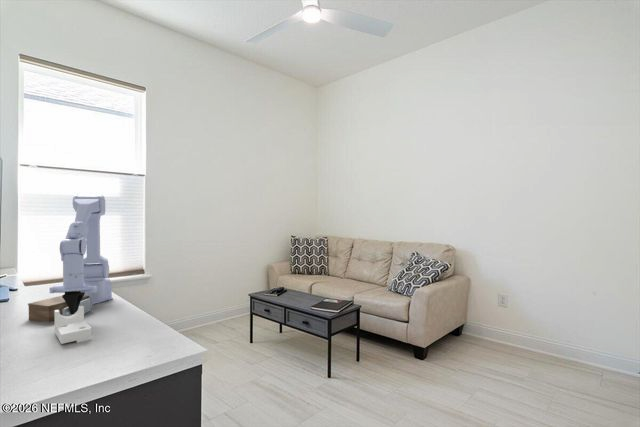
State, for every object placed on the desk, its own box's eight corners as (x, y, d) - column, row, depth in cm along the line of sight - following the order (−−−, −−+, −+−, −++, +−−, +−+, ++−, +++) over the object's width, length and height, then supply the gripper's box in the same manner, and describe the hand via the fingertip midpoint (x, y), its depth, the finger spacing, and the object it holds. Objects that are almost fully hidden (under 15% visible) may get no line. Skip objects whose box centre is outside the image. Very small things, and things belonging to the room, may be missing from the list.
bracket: (54, 334, 105) (54, 310, 104) (82, 329, 110) (82, 305, 109) (61, 347, 95) (61, 320, 95) (91, 340, 100) (91, 314, 100)
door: (89, 309, 128) (89, 297, 128) (93, 309, 128) (93, 297, 128) (62, 322, 114) (62, 309, 113) (67, 322, 114) (67, 309, 114)
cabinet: (70, 308, 131) (70, 293, 131) (89, 310, 128) (89, 295, 128) (28, 319, 118) (27, 303, 118) (48, 322, 114) (48, 306, 114)
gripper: (42, 276, 112) (42, 317, 112) (88, 275, 113) (88, 317, 113) (57, 272, 119) (58, 311, 119) (100, 271, 120) (101, 310, 120)
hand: (74, 313), depth 116 cm, fingers closed
